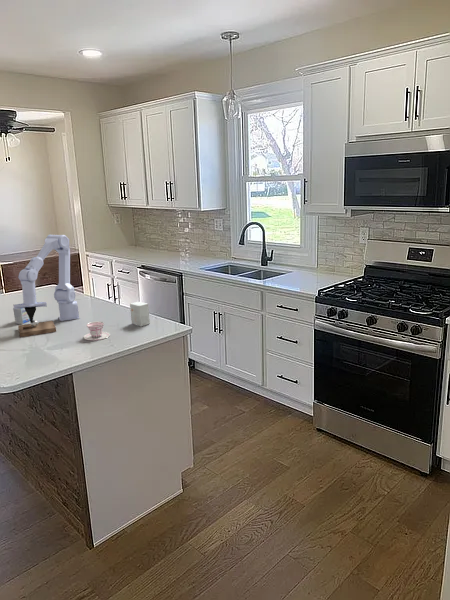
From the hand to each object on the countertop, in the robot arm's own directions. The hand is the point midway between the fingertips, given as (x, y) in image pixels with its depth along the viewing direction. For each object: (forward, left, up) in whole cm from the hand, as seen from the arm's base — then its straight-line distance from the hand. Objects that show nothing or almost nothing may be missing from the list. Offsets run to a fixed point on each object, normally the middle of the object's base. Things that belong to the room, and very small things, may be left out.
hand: (31, 322), depth 222 cm
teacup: (-26, +24, -5) cm, 36 cm away
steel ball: (-1, 0, -1) cm, 2 cm away
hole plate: (-2, -1, -5) cm, 5 cm away
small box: (-49, +15, -5) cm, 52 cm away
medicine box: (+3, -21, -5) cm, 22 cm away
